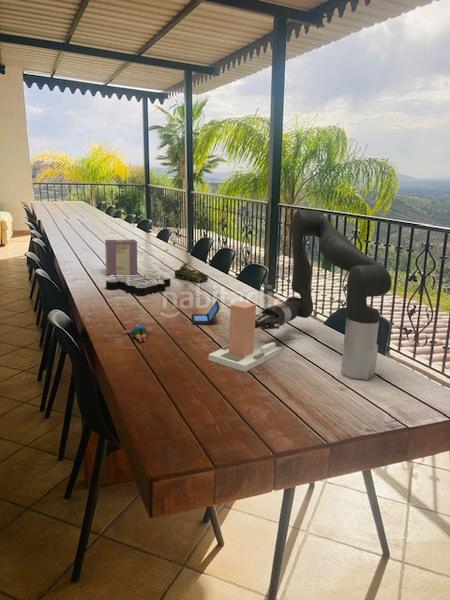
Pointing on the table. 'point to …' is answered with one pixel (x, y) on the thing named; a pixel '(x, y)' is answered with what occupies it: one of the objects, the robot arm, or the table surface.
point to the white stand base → (248, 362)
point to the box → (121, 257)
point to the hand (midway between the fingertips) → (248, 326)
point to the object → (206, 316)
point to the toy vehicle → (190, 274)
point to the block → (242, 329)
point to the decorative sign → (139, 284)
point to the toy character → (139, 332)
